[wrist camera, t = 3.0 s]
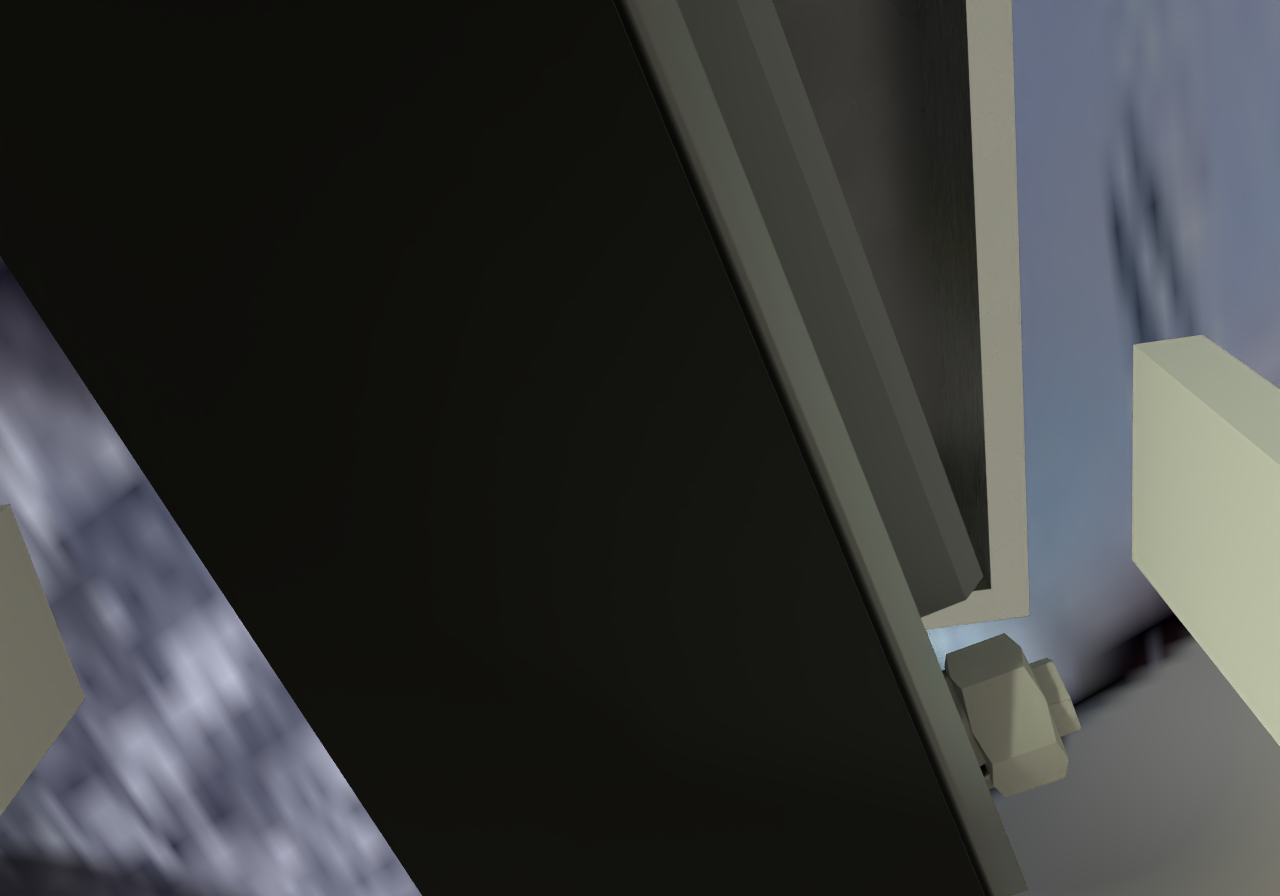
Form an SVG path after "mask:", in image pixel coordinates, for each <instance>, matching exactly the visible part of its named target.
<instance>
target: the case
mask: <svg viewBox="0 0 1280 896" xmlns="http://www.w3.org/2000/svg"><path fill="white" fill-rule="evenodd" d="M772 1H773V4H774V7H775V9H776V12H777V15H778V18H779V20H780V23H781V26H782V29H783V31H784V34H785V37H786V39H787V42H788V45H789V48H790V50H791V53H792V56H793V59H794V61H795V64H796V67H797V69H798V72H799V75H800V78H801V80H802V83H803V86H804V89H805V91H806V94H807V97H808V99H809V102H810V105H811V108H812V110H813V113H814V116H815V119H816V121H817V124H818V127H819V129H820V132H821V135H822V138H823V140H824V143H825V146H826V149H827V151H828V154H829V157H830V159H831V162H832V165H833V168H834V170H835V173H836V176H837V178H838V181H839V184H840V187H841V189H842V192H843V195H844V198H845V200H846V203H847V206H848V208H849V211H850V214H851V217H852V219H853V222H854V225H855V228H856V230H857V233H858V236H859V238H860V241H861V244H862V247H863V249H864V252H865V255H866V258H867V260H868V263H869V266H870V268H871V271H872V274H873V277H874V279H875V282H876V285H877V288H878V290H879V293H880V296H881V298H882V301H883V304H884V307H885V309H886V312H887V315H888V318H889V320H890V323H891V326H892V328H893V331H894V334H895V337H896V339H897V342H898V345H899V348H900V350H901V353H902V356H903V358H904V361H905V364H906V367H907V369H908V372H909V375H910V378H911V380H912V383H913V386H914V388H915V391H916V394H917V397H918V399H919V402H920V405H921V408H922V410H923V413H924V416H925V418H926V421H927V424H928V427H929V429H930V432H931V435H932V438H933V440H934V443H935V446H936V448H937V451H938V454H939V457H940V459H941V462H942V465H943V468H944V470H945V473H946V476H947V478H948V481H949V484H950V487H951V489H952V492H953V495H954V498H955V500H956V503H957V506H958V508H959V511H960V514H961V517H962V519H963V522H964V525H965V528H966V530H967V533H968V536H969V538H970V541H971V544H972V547H973V549H974V552H975V555H976V558H977V560H978V563H979V566H980V568H981V571H982V574H983V578H982V579H981V580H980V582H979V583H978V585H977V586H976V587H975V589H974V590H973V591H972V593H971V594H970V595H969V597H968V598H967V600H965V601H962V602H960V603H957V604H955V605H952V606H949V607H947V608H944V609H942V610H939V611H937V612H934V613H932V614H929V615H927V616H924V617H922V618H921V620H922V622H923V625H924V627H925V630H927V629H934V628H942V627H949V626H957V625H964V624H971V623H979V622H986V621H994V620H1001V619H1008V618H1016V617H1023V616H1030V612H1029V578H1028V543H1027V509H1026V475H1025V441H1024V406H1023V372H1022V338H1021V304H1020V269H1019V235H1018V201H1017V167H1016V132H1015V98H1014V64H1013V30H1012V0H772Z"/></svg>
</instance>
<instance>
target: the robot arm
mask: <svg viewBox="0 0 1280 896" xmlns="http://www.w3.org/2000/svg"><path fill="white" fill-rule="evenodd" d="M1132 560H1133V562H1134V563H1135V564H1136V565H1137V567H1138V568H1139V569H1140V571H1141V572H1142V573H1143V574H1144V576H1145V577H1146V578H1147V579H1148V581H1149V582H1150V583H1151V584H1152V586H1153V587H1154V588H1155V589H1156V591H1157V592H1158V593H1159V595H1160V596H1161V597H1162V598H1163V600H1164V601H1165V602H1166V603H1167V605H1168V606H1169V607H1170V608H1171V610H1172V611H1173V612H1174V613H1175V615H1176V616H1177V617H1178V619H1179V620H1180V621H1181V622H1182V624H1183V625H1184V626H1185V627H1186V629H1187V630H1188V631H1189V632H1190V634H1191V635H1192V636H1193V637H1194V639H1195V640H1196V641H1197V643H1198V644H1199V645H1200V646H1201V648H1202V649H1203V650H1204V651H1205V653H1206V654H1207V655H1208V656H1209V658H1210V659H1211V660H1212V661H1213V663H1214V664H1215V665H1216V666H1217V668H1218V669H1219V670H1220V671H1221V673H1222V674H1223V675H1224V677H1225V678H1226V679H1227V680H1228V682H1229V683H1230V684H1231V685H1232V687H1233V688H1234V689H1235V690H1236V692H1237V693H1238V694H1239V696H1240V697H1241V698H1242V699H1243V700H1244V702H1245V703H1246V704H1247V706H1248V707H1249V708H1250V709H1251V711H1252V712H1253V713H1254V714H1255V716H1256V717H1257V718H1258V720H1259V721H1260V722H1261V723H1262V725H1263V726H1264V727H1265V728H1266V729H1267V731H1268V732H1269V733H1270V735H1271V736H1272V737H1273V738H1274V740H1275V741H1276V742H1277V744H1278V745H1279V746H1280V389H1279V388H1277V387H1276V386H1275V385H1273V384H1272V383H1270V382H1269V381H1267V380H1266V379H1265V378H1263V377H1262V376H1260V375H1259V374H1258V373H1256V372H1255V371H1253V370H1252V369H1250V368H1249V367H1248V366H1246V365H1245V364H1243V363H1242V362H1241V361H1239V360H1238V359H1236V358H1235V357H1234V356H1232V355H1231V354H1229V353H1228V352H1226V351H1225V350H1224V349H1222V348H1221V347H1219V346H1218V345H1217V344H1215V343H1214V342H1212V341H1211V340H1209V339H1208V338H1207V337H1205V336H1204V335H1196V336H1189V337H1182V338H1175V339H1168V340H1161V341H1154V342H1147V343H1140V344H1133V483H1132ZM84 699H85V696H84V694H83V691H82V689H81V686H80V684H79V681H78V679H77V676H76V673H75V671H74V668H73V666H72V663H71V661H70V658H69V655H68V653H67V650H66V648H65V645H64V643H63V640H62V637H61V635H60V632H59V630H58V627H57V625H56V622H55V619H54V617H53V614H52V612H51V609H50V607H49V604H48V601H47V599H46V596H45V594H44V591H43V589H42V586H41V584H40V581H39V578H38V576H37V573H36V571H35V568H34V566H33V563H32V560H31V558H30V555H29V553H28V550H27V548H26V545H25V542H24V540H23V537H22V535H21V532H20V530H19V527H18V524H17V522H16V519H15V517H14V514H13V512H12V509H11V507H10V504H7V505H0V816H1V815H2V813H3V812H4V810H5V809H6V808H7V806H8V805H9V803H10V802H11V801H12V799H13V798H14V797H15V795H16V794H17V792H18V791H19V790H20V788H21V787H22V785H23V784H24V783H25V781H26V780H27V778H28V777H29V776H30V774H31V773H32V772H33V770H34V769H35V767H36V766H37V765H38V763H39V762H40V760H41V759H42V758H43V756H44V755H45V754H46V752H47V751H48V749H49V748H50V747H51V745H52V744H53V742H54V741H55V740H56V738H57V737H58V736H59V734H60V733H61V731H62V730H63V729H64V727H65V726H66V724H67V723H68V722H69V720H70V719H71V718H72V716H73V715H74V713H75V712H76V711H77V709H78V708H79V706H80V705H81V704H82V702H83V701H84Z"/></svg>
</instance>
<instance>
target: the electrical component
mask: <svg viewBox="0 0 1280 896" xmlns="http://www.w3.org/2000/svg"><path fill="white" fill-rule="evenodd" d="M0 256H1V258H2V259H3V261H4V262H5V264H6V265H7V267H8V268H9V270H10V271H11V273H12V274H13V276H14V277H15V279H16V280H17V282H18V283H19V285H20V286H21V288H22V289H23V291H24V293H25V294H26V296H27V297H28V299H29V300H30V302H31V303H32V305H33V306H34V308H35V309H36V311H37V312H38V314H39V315H40V317H41V318H42V320H43V321H44V323H45V324H46V326H47V327H48V329H49V330H50V332H51V333H52V335H53V336H54V338H55V340H56V341H57V343H58V344H59V346H60V347H61V349H62V350H63V352H64V353H65V355H66V356H67V358H68V359H69V361H70V362H71V364H72V365H73V367H74V368H75V370H76V371H77V373H78V374H79V376H80V377H81V379H82V380H83V382H84V383H85V385H86V387H87V388H88V390H89V391H90V393H91V394H92V396H93V397H94V399H95V400H96V402H97V403H98V405H99V406H100V408H101V409H102V411H103V412H104V414H105V415H106V417H107V418H108V420H109V421H110V423H111V424H112V426H113V427H114V429H115V430H116V432H117V434H118V435H119V437H120V438H121V440H122V441H123V443H124V444H125V446H126V447H127V449H128V450H129V452H130V453H131V455H132V456H133V458H134V459H135V461H136V462H137V464H138V465H139V467H140V468H141V470H142V471H143V473H144V474H145V476H146V478H147V479H148V481H149V482H150V484H151V485H152V487H153V488H154V490H155V491H156V493H157V494H158V496H159V497H160V499H161V500H162V502H163V503H164V505H165V506H166V508H167V509H168V511H169V512H170V514H171V515H172V517H173V518H174V520H175V521H176V523H177V525H178V526H179V528H180V529H181V531H182V532H183V534H184V535H185V537H186V538H187V540H188V541H189V543H190V544H191V546H192V547H193V549H194V550H195V552H196V553H197V555H198V556H199V558H200V559H201V561H202V562H203V564H204V565H205V567H206V568H207V570H208V572H209V573H210V575H211V576H212V578H213V579H214V581H215V582H216V584H217V585H218V587H219V588H220V590H221V591H222V593H223V594H224V596H225V597H226V599H227V600H228V602H229V603H230V605H231V606H232V608H233V609H234V611H235V612H236V614H237V615H238V617H239V619H240V620H241V622H242V623H243V625H244V626H245V628H246V629H247V631H248V632H249V634H250V635H251V637H252V638H253V640H254V641H255V643H256V644H257V646H258V647H259V649H260V650H261V652H262V653H263V655H264V656H265V658H266V659H267V661H268V662H269V664H270V666H271V667H272V669H273V670H274V672H275V673H276V675H277V676H278V678H279V679H280V681H281V682H282V684H283V685H284V687H285V688H286V690H287V691H288V693H289V694H290V696H291V697H292V699H293V700H294V702H295V703H296V705H297V706H298V708H299V709H300V711H301V713H302V714H303V716H304V717H305V719H306V720H307V722H308V723H309V725H310V726H311V728H312V729H313V731H314V732H315V734H316V735H317V737H318V738H319V740H320V741H321V743H322V744H323V746H324V747H325V749H326V750H327V752H328V753H329V755H330V757H331V758H332V760H333V761H334V763H335V764H336V766H337V767H338V769H339V770H340V772H341V773H342V775H343V776H344V778H345V779H346V781H347V782H348V784H349V785H350V787H351V788H352V790H353V791H354V793H355V794H356V796H357V797H358V799H359V800H360V802H361V804H362V805H363V807H364V808H365V810H366V811H367V813H368V814H369V816H370V817H371V819H372V820H373V822H374V823H375V825H376V826H377V828H378V829H379V831H380V832H381V834H382V835H383V837H384V838H385V840H386V841H387V843H388V844H389V846H390V847H391V849H392V851H393V852H394V854H395V855H396V857H397V858H398V860H399V861H400V863H401V864H402V866H403V867H404V869H405V870H406V872H407V873H408V875H409V876H410V878H411V879H412V881H413V882H414V884H415V885H416V887H417V888H418V890H419V891H420V893H421V894H422V896H1010V895H1013V894H1016V893H1020V892H1023V891H1026V890H1028V887H1027V885H1026V883H1025V880H1024V877H1023V875H1022V872H1021V870H1020V867H1019V865H1018V862H1017V860H1016V857H1015V855H1014V852H1013V850H1012V847H1011V845H1010V842H1009V839H1008V837H1007V834H1006V832H1005V829H1004V827H1003V824H1002V822H1001V819H1000V817H999V814H998V812H997V809H996V807H995V804H994V802H993V799H992V796H991V794H990V791H989V789H991V788H994V787H995V788H996V789H997V790H998V791H999V792H1000V793H1001V794H1002V795H1004V796H1005V797H1006V798H1007V797H1010V796H1013V795H1016V794H1019V793H1022V792H1025V791H1028V790H1030V789H1033V788H1036V787H1039V786H1042V785H1045V784H1048V783H1051V782H1054V781H1057V780H1060V779H1062V778H1065V777H1066V772H1067V767H1068V761H1069V758H1068V756H1067V753H1066V750H1065V748H1064V745H1063V743H1062V740H1061V737H1062V736H1065V735H1068V734H1070V733H1073V732H1076V731H1079V730H1082V729H1081V726H1080V723H1079V720H1078V718H1077V715H1076V712H1075V709H1074V707H1073V704H1072V701H1071V699H1070V696H1069V694H1068V692H1067V690H1066V688H1065V686H1064V684H1063V682H1062V680H1061V677H1060V675H1059V673H1058V671H1057V669H1056V667H1055V665H1054V663H1053V661H1052V660H1050V659H1048V658H1045V659H1042V660H1039V661H1036V662H1033V663H1030V664H1029V663H1028V661H1027V659H1026V657H1025V655H1024V653H1023V651H1022V649H1021V647H1020V646H1019V645H1018V644H1017V643H1015V642H1014V641H1013V640H1012V639H1011V638H1009V637H1008V636H1007V635H1006V634H1005V633H1004V634H1001V635H998V636H995V637H993V638H990V639H987V640H984V641H982V642H979V643H976V644H973V645H971V646H968V647H965V648H962V649H960V650H957V651H954V652H951V653H949V654H946V659H945V670H943V671H942V670H941V668H940V665H939V663H938V660H937V658H936V655H935V652H934V650H933V647H932V645H931V642H930V640H929V637H928V635H927V632H926V630H925V627H924V625H923V622H922V620H921V618H922V617H924V616H927V615H929V614H932V613H934V612H937V611H939V610H942V609H944V608H947V607H949V606H952V605H955V604H957V603H960V602H962V601H965V600H967V598H968V597H969V595H970V594H971V593H972V591H973V590H974V589H975V587H976V586H977V585H978V583H979V582H980V580H981V579H982V578H983V574H982V571H981V568H980V566H979V563H978V560H977V558H976V555H975V552H974V549H973V547H972V544H971V541H970V538H969V536H968V533H967V530H966V528H965V525H964V522H963V519H962V517H961V514H960V511H959V508H958V506H957V503H956V500H955V498H954V495H953V492H952V489H951V487H950V484H949V481H948V478H947V476H946V473H945V470H944V468H943V465H942V462H941V459H940V457H939V454H938V451H937V448H936V446H935V443H934V440H933V438H932V435H931V432H930V429H929V427H928V424H927V421H926V418H925V416H924V413H923V410H922V408H921V405H920V402H919V399H918V397H917V394H916V391H915V388H914V386H913V383H912V380H911V378H910V375H909V372H908V369H907V367H906V364H905V361H904V358H903V356H902V353H901V350H900V348H899V345H898V342H897V339H896V337H895V334H894V331H893V328H892V326H891V323H890V320H889V318H888V315H887V312H886V309H885V307H884V304H883V301H882V298H881V296H880V293H879V290H878V288H877V285H876V282H875V279H874V277H873V274H872V271H871V268H870V266H869V263H868V260H867V258H866V255H865V252H864V249H863V247H862V244H861V241H860V238H859V236H858V233H857V230H856V228H855V225H854V222H853V219H852V217H851V214H850V211H849V208H848V206H847V203H846V200H845V198H844V195H843V192H842V189H841V187H840V184H839V181H838V178H837V176H836V173H835V170H834V168H833V165H832V162H831V159H830V157H829V154H828V151H827V149H826V146H825V143H824V140H823V138H822V135H821V132H820V129H819V127H818V124H817V121H816V119H815V116H814V113H813V110H812V108H811V105H810V102H809V99H808V97H807V94H806V91H805V89H804V86H803V83H802V80H801V78H800V75H799V72H798V69H797V67H796V64H795V61H794V59H793V56H792V53H791V50H790V48H789V45H788V42H787V39H786V37H785V34H784V31H783V29H782V26H781V23H780V20H779V18H778V15H777V12H776V9H775V7H774V4H773V1H772V0H0Z"/></svg>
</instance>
